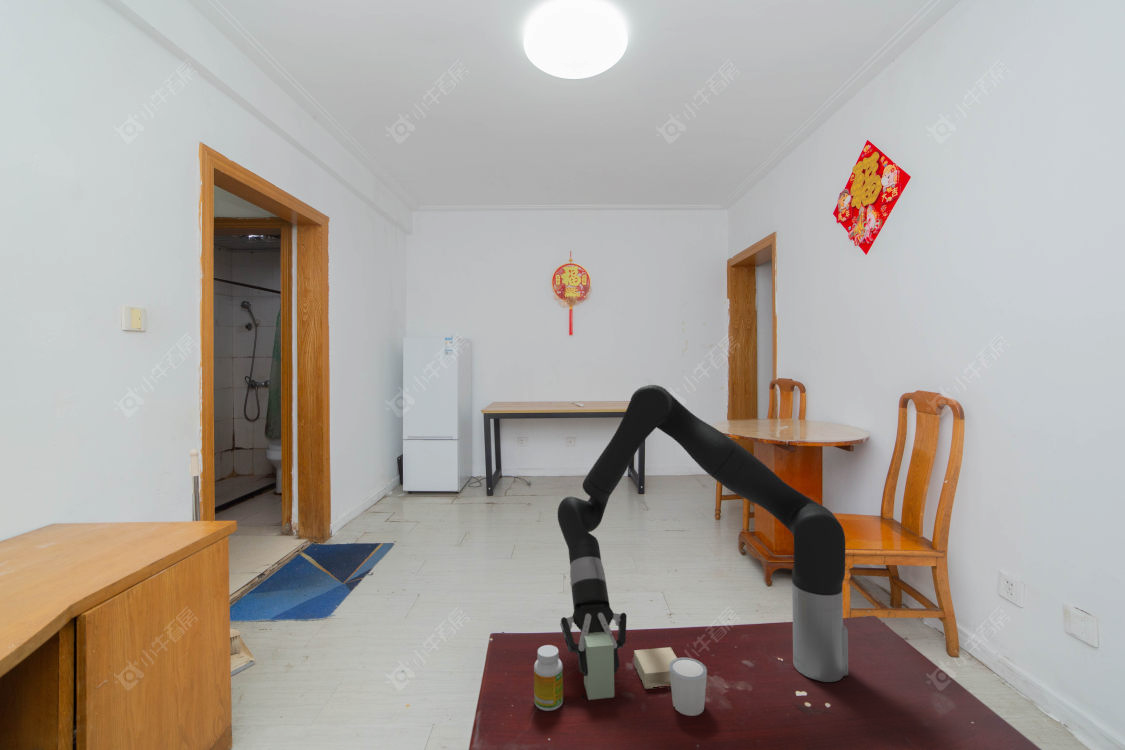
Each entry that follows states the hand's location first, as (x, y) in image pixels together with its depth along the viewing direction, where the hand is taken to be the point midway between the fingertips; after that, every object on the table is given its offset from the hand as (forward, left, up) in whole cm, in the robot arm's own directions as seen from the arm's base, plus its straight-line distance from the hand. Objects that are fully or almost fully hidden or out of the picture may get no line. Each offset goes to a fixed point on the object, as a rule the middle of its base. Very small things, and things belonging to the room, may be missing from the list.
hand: (600, 673), depth 93 cm
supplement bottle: (+10, 0, -5) cm, 11 cm away
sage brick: (0, -2, -4) cm, 5 cm away
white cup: (-15, +5, -5) cm, 17 cm away
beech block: (-13, -5, -4) cm, 15 cm away
